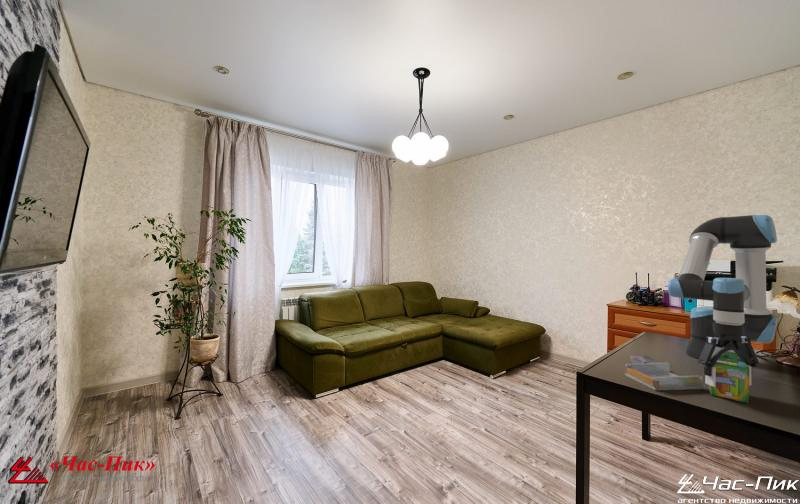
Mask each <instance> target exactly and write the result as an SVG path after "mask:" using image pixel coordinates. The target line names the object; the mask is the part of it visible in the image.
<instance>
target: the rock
mask: <svg viewBox="0 0 800 504" xmlns="http://www.w3.org/2000/svg"><path fill="white" fill-rule="evenodd" d="M630 362H631V364H636V363H664V361H660V360H656V359H655V358H652V357H650V356H649V355H640V354H639V355H637V354H632V355H630Z"/></svg>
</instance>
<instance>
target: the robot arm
mask: <svg viewBox="0 0 800 504" xmlns="http://www.w3.org/2000/svg"><path fill="white" fill-rule="evenodd" d="M777 239H778V237H777V231H776V226H775V223H774V220H773V218H772V216H770V215H768V214H750V215H738V216H721V217H714V218H711V219H709V220H706V221H705V222H703V223H701V224H700V225H698V226H697V227H696V228H695V229H694V230H693V231H692V232H691V233H690V235H689V237H688V243H689V248H688V250H687V253H686V256H685V259H684V261H683V263H682V267H681V270H680V273H679V275H678V278H670V279H669V280H668V283H667V293H668V295H669V296H670V297H673V298H680V299H690V300H701V301H703V300H704V301H711V302H712V306H698V307H693V308H692V309H691V310H690V316H689V318H690V338H689V341H688V343H687V346H686V348H685V354H686V355H687V356H688V357H692V358H695V359H698V360H697V364H701V365H703V371H704V372H703V373H704V376H705V380H704V382H705V384H706V385H708V386H709V385H710V386H713V387H716V368H715V367H713V366H714V365H715V363H716V362H717V360H718V359H719V358H720V356H721V355H722V354H723V352H726V351H727V352H730V351H733V352H734V353H737V354H738V359H739V361H742V362H745V363H746V365H747V367H748V368H749V370H750V373H749V387H751V386H752V376H753V367H754V368H756V367H757V365H759V363H760V361H759V359H758V357H757V355H756V351H755V350H754V347H753V345H752V342H754V343H760V344H771V343H772V342H773V341H774V339H775V335H776V330H777V326H778V320H779V318H778V317H777V316H775V315H773V311H772V310H770V309H769V308H768V306H767V262H766V261H767V260H766V259H767V258H766V256H767V255H766V252H767V251H768V250H769V249H771V248H772V244H775V243H777V241H778V240H777ZM720 244H724V245H725V244H729V248H730V249H731V250H733V251H734V252H735V277H733V278H732V277H715V278H714V279H713V280H706V279H705V278H706V274H707V272H708V271H707V270H708V267H709V265H710V261H711V258H712V255H713V251H714V249H715V248H716V247H717V246H718V245H720ZM724 358H726V359H732V356H730V355H724ZM709 362H710V363H709Z"/></svg>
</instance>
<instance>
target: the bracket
mask: <svg viewBox="0 0 800 504" xmlns="http://www.w3.org/2000/svg"><path fill="white" fill-rule="evenodd" d="M670 367H671V366H670V362H663V363H636V364H632V363H625V364H624V375H625V376H626V377H628V378H630V379H632V380H634V381H636V382H637V383H640V384H641V385H644V386H645V387H648V388H650V389H651V390H653V391H673V390H674V391H680V390H681V391H682V390H703V383H704V382H703V377H704V376H702V375H697V374H695V375H677V374H676V373H673V372H672V371H671V370H670Z"/></svg>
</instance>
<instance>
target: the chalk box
mask: <svg viewBox="0 0 800 504" xmlns="http://www.w3.org/2000/svg"><path fill="white" fill-rule="evenodd" d="M724 355H730V356H731V359H726V358H724ZM709 363H710V362H709ZM713 367H715V368H716V387H713V386H710V385H708V390H709V394H710V395H711V396H715V397H719V398H724V399H727V400H733V401H736V402H740V403H745V404H749V401H750V399H749V398H750V397H749V396H750V386H749V373H750V370H749V368H748V367H747V365H746V363H745V362H742V361H741V360H739V357H738V354H737V353H735V352H734V351H733V352H732V351H729V352H727V351H726V352H723V354H722V355H721V356H720V358H719V359H718V360H717V362H716V363H715V365H714V366H713Z"/></svg>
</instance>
